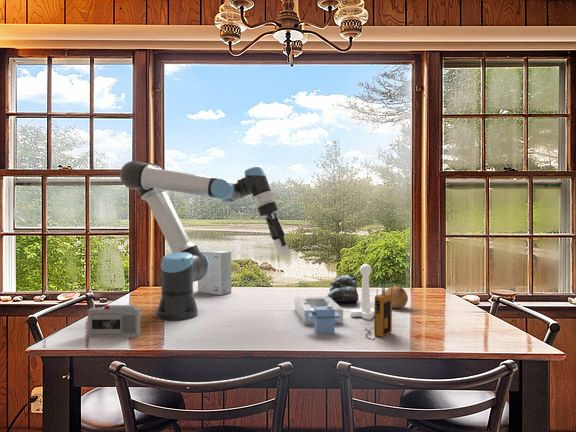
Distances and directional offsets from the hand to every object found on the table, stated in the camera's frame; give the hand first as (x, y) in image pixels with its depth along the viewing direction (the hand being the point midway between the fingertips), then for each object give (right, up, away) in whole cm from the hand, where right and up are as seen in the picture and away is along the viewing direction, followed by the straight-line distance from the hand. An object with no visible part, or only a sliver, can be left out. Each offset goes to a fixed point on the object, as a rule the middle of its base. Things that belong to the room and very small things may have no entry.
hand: (284, 254), depth 170 cm
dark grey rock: (+25, -23, +18) cm, 38 cm away
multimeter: (+30, -24, -27) cm, 47 cm away
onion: (+46, -23, +8) cm, 52 cm away
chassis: (+13, -23, -6) cm, 27 cm away
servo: (+13, -24, -26) cm, 38 cm away
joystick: (+31, -23, -7) cm, 40 cm away
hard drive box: (-34, -22, +37) cm, 55 cm away
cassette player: (-54, -24, -32) cm, 67 cm away
